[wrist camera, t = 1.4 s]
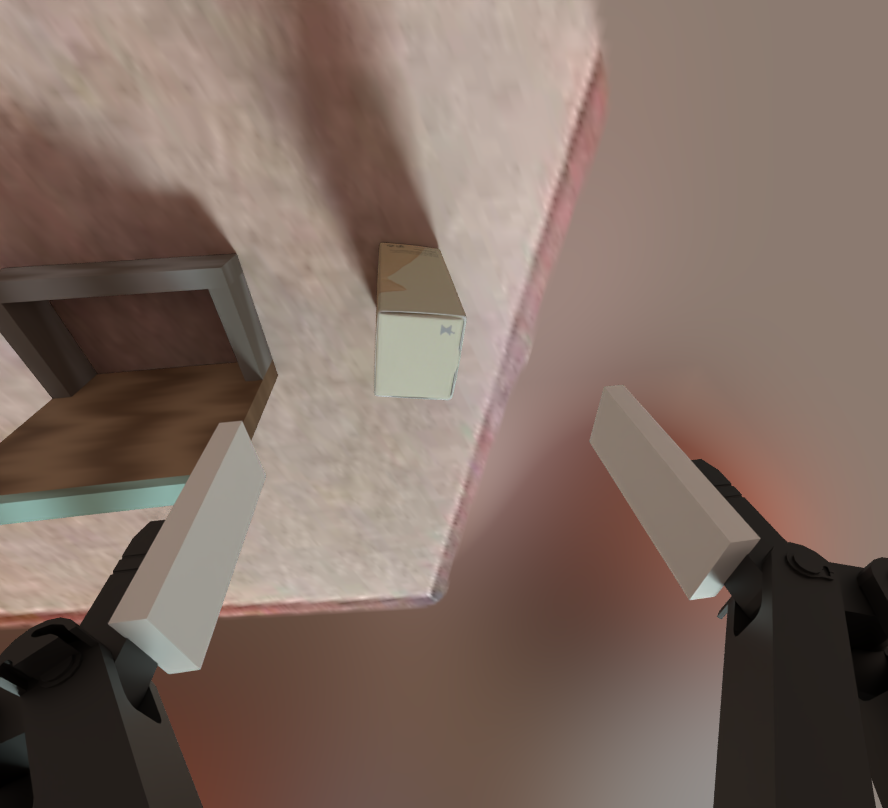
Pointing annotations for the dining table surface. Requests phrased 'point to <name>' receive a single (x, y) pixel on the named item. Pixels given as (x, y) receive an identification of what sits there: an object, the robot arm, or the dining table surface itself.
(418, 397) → the box
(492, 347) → the dining table surface
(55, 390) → the cleat board
